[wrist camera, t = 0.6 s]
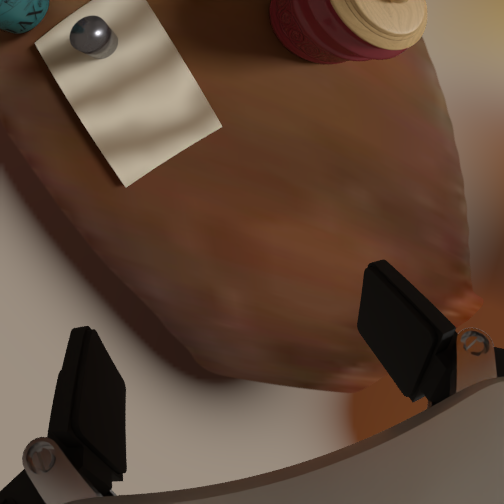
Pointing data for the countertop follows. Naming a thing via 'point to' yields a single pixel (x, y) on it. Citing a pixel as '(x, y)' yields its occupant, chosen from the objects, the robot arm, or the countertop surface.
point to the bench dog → (93, 37)
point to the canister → (347, 28)
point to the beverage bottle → (21, 14)
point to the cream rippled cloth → (130, 88)
